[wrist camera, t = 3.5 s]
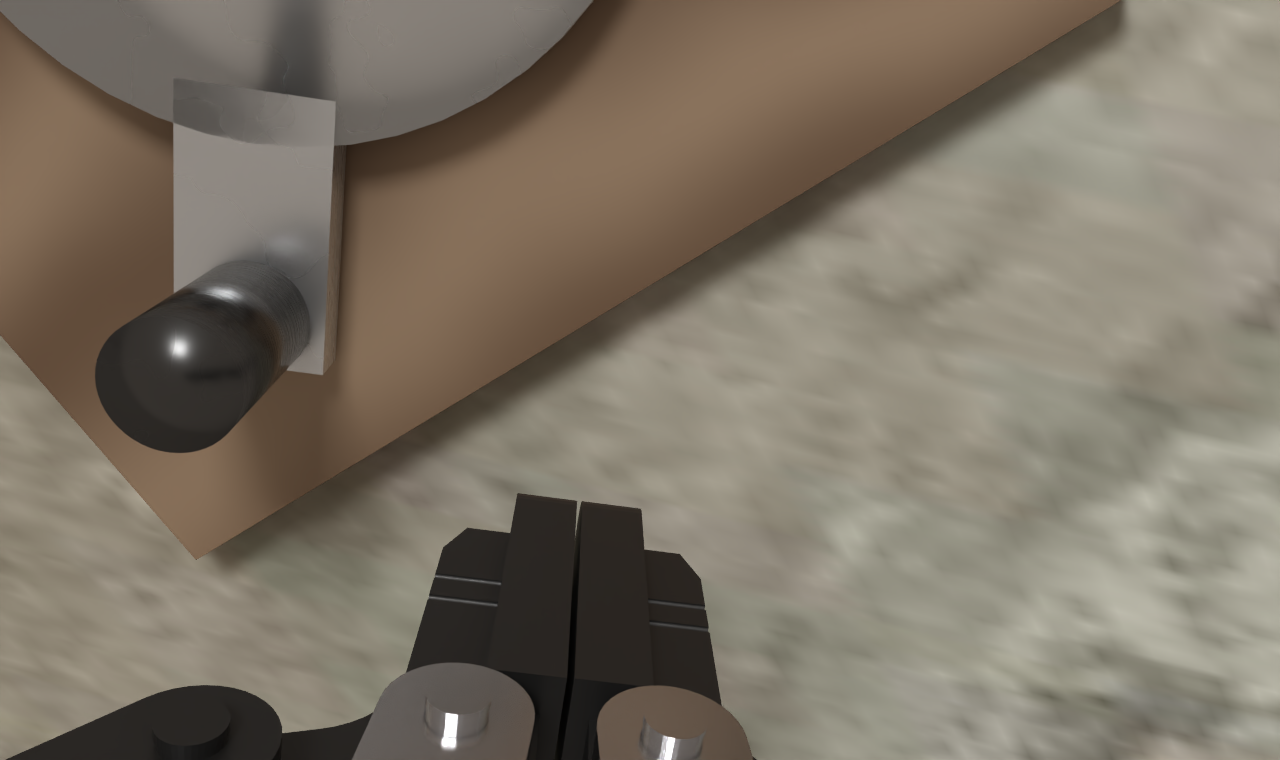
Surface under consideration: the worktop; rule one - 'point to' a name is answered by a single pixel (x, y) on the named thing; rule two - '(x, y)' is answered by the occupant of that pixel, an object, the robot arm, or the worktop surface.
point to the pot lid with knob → (267, 167)
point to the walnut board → (471, 211)
